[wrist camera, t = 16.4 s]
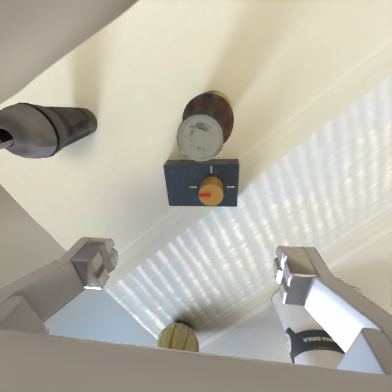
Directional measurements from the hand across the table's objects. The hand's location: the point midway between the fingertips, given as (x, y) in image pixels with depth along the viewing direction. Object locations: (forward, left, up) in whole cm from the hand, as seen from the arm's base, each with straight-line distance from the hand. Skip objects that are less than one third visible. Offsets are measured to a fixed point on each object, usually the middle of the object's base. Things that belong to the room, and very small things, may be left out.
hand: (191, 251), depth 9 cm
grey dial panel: (+2, +9, -29) cm, 30 cm away
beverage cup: (+24, -3, -29) cm, 38 cm away
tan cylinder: (0, +9, -26) cm, 27 cm away
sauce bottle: (0, -4, -29) cm, 29 cm away
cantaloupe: (+12, +66, -29) cm, 74 cm away
